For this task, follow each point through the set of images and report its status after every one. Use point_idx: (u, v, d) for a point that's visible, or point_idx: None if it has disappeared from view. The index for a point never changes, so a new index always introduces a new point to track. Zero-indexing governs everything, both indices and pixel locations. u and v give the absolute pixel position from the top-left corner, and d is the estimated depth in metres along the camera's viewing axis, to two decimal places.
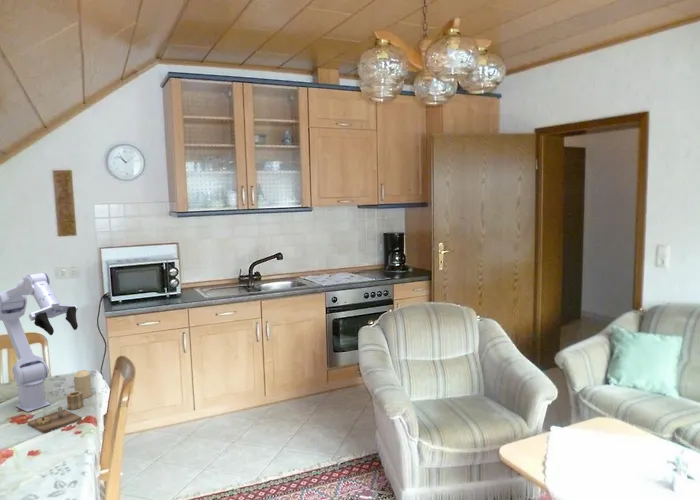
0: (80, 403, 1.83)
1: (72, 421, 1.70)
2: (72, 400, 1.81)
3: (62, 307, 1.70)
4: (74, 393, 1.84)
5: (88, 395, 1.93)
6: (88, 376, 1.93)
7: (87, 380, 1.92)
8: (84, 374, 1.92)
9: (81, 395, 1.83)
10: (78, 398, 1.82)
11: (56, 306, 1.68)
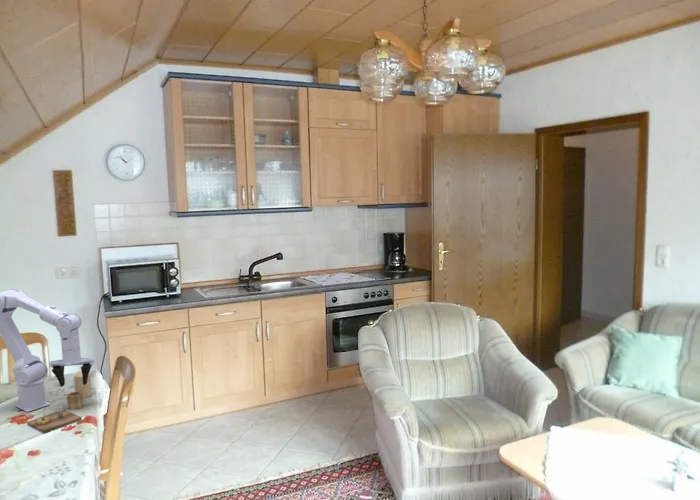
0: (80, 403, 1.83)
1: (72, 421, 1.70)
2: (72, 400, 1.81)
3: None
4: (74, 393, 1.84)
5: (88, 395, 1.93)
6: (88, 376, 1.93)
7: (87, 380, 1.92)
8: None
9: (81, 395, 1.83)
10: (78, 398, 1.82)
11: (70, 364, 1.79)
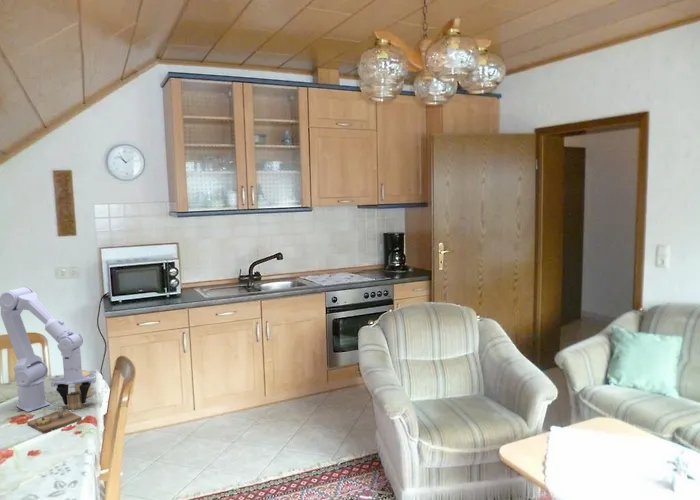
0: (80, 403, 1.83)
1: (72, 421, 1.70)
2: (72, 400, 1.81)
3: None
4: (74, 393, 1.84)
5: (88, 395, 1.93)
6: None
7: None
8: (84, 374, 1.92)
9: None
10: (78, 398, 1.82)
11: None
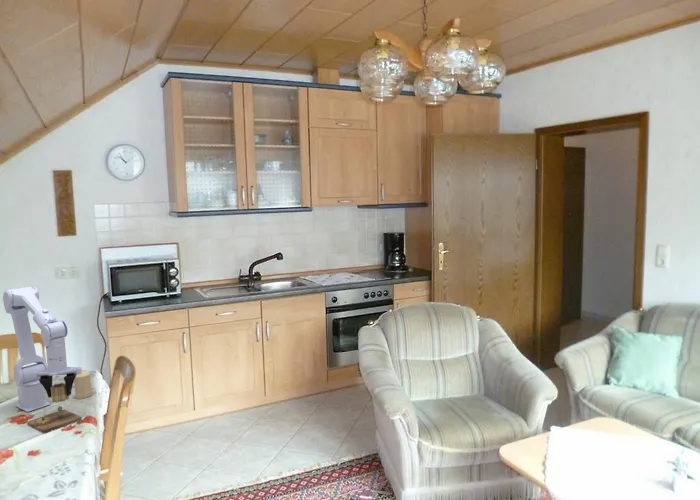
0: (65, 395, 1.72)
1: (72, 421, 1.70)
2: (56, 392, 1.70)
3: None
4: (58, 385, 1.73)
5: (88, 395, 1.93)
6: (88, 376, 1.93)
7: (87, 380, 1.92)
8: (84, 374, 1.92)
9: None
10: (63, 390, 1.71)
11: None
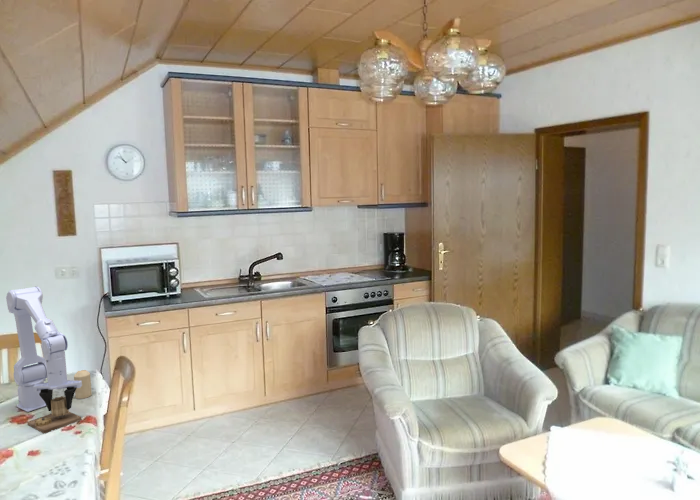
0: (65, 409, 1.72)
1: (72, 421, 1.70)
2: (56, 406, 1.70)
3: None
4: (59, 398, 1.73)
5: (88, 395, 1.93)
6: (88, 376, 1.93)
7: (87, 380, 1.92)
8: (84, 374, 1.92)
9: None
10: (63, 404, 1.71)
11: None
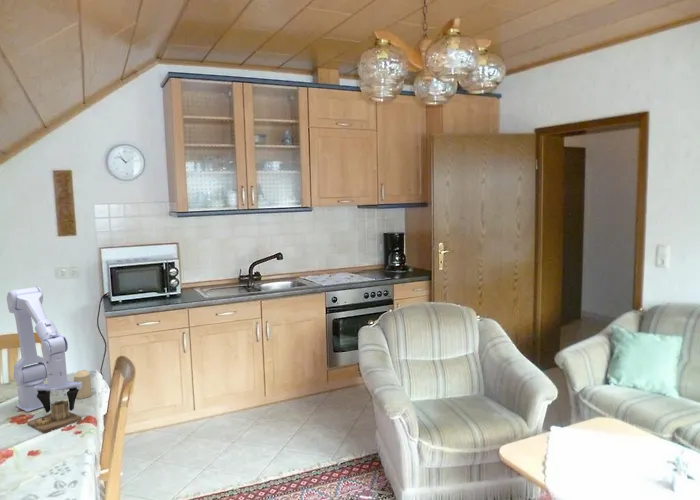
0: (65, 413, 1.72)
1: (72, 421, 1.70)
2: (56, 410, 1.70)
3: None
4: (59, 402, 1.73)
5: (88, 395, 1.93)
6: (88, 376, 1.93)
7: (87, 380, 1.92)
8: (84, 374, 1.92)
9: (66, 405, 1.72)
10: (63, 408, 1.71)
11: None
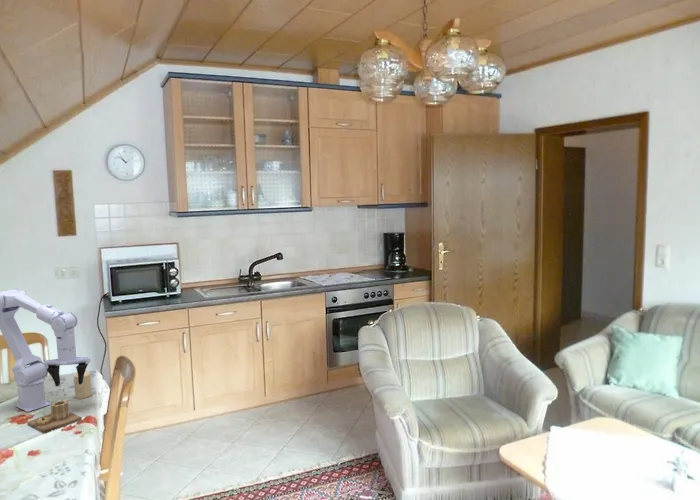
0: (65, 413, 1.72)
1: (72, 421, 1.70)
2: (56, 410, 1.70)
3: None
4: (59, 402, 1.73)
5: (88, 395, 1.93)
6: (88, 376, 1.93)
7: (87, 380, 1.92)
8: (84, 374, 1.92)
9: (66, 405, 1.72)
10: (63, 408, 1.71)
11: None
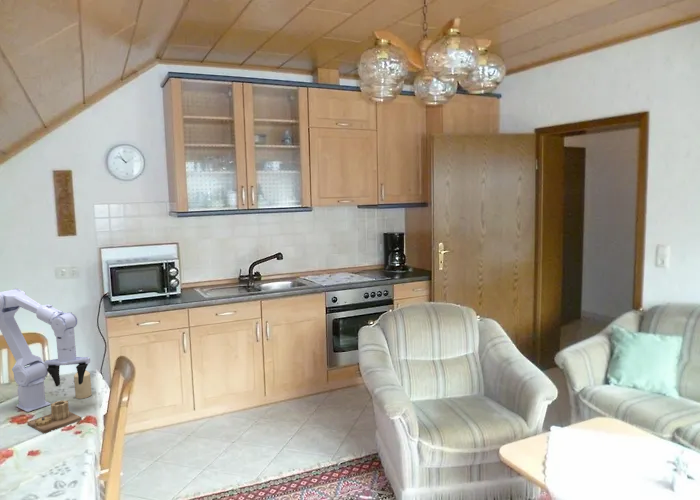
0: (65, 413, 1.72)
1: (72, 421, 1.70)
2: (56, 410, 1.70)
3: None
4: (59, 402, 1.73)
5: (88, 395, 1.93)
6: (88, 376, 1.93)
7: (87, 380, 1.92)
8: (84, 374, 1.92)
9: (66, 405, 1.72)
10: (63, 408, 1.71)
11: None
